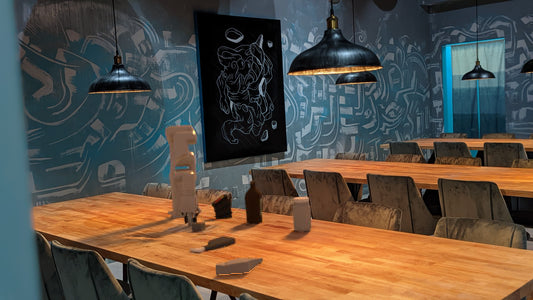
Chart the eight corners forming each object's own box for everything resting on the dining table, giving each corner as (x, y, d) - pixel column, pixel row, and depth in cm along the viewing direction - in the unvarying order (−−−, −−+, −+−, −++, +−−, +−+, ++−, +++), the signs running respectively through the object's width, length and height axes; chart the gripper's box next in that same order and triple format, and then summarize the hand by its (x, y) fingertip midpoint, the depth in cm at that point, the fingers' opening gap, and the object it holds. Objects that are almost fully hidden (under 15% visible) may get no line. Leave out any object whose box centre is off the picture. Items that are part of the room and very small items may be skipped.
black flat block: (236, 214, 351) (227, 194, 346) (221, 225, 344) (211, 206, 339) (233, 213, 354) (223, 193, 349) (218, 225, 347) (208, 205, 342)
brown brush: (237, 243, 280) (203, 255, 261) (222, 241, 287) (187, 252, 268) (237, 238, 280) (202, 249, 261) (221, 235, 287) (187, 246, 268)
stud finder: (191, 230, 308) (191, 222, 308) (196, 228, 313) (195, 220, 313) (201, 231, 306) (201, 223, 306) (205, 229, 311) (205, 221, 311)
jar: (310, 232, 297) (308, 199, 296) (292, 232, 299) (291, 199, 298) (312, 228, 306) (311, 196, 305) (295, 228, 308) (293, 196, 307)
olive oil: (245, 224, 325) (243, 182, 323) (245, 220, 336) (243, 180, 334) (263, 223, 326) (261, 181, 324) (263, 220, 336) (261, 179, 334)
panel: (161, 233, 312) (161, 231, 312) (178, 225, 330) (178, 223, 330) (205, 234, 302) (205, 232, 302) (220, 227, 321) (220, 225, 321)
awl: (186, 225, 323) (186, 212, 323) (189, 224, 326) (188, 211, 326) (192, 226, 322) (191, 212, 321) (194, 224, 325) (194, 211, 325)
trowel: (249, 259, 250) (248, 247, 249) (276, 264, 239) (275, 252, 239) (203, 274, 228) (203, 262, 228) (231, 281, 218) (230, 267, 218)
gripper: (173, 193, 322) (174, 224, 323) (199, 194, 316) (200, 225, 318) (179, 192, 329) (181, 221, 331) (204, 192, 323) (206, 222, 325)
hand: (190, 223), depth 324 cm, fingers open, 4 cm apart
